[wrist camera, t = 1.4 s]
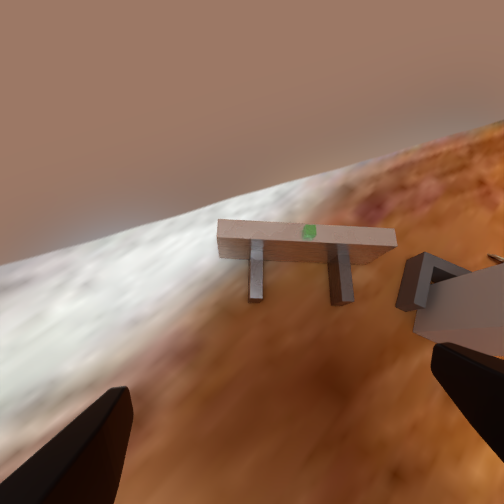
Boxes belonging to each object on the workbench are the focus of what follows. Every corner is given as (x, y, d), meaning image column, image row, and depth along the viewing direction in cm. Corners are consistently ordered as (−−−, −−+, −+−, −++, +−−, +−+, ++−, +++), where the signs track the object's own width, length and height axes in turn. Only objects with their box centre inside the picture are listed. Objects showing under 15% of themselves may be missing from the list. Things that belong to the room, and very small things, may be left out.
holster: (485, 347, 23) (514, 347, 21) (395, 307, 24) (413, 303, 21) (491, 296, 25) (518, 291, 22) (406, 260, 25) (424, 251, 23)
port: (371, 306, 23) (412, 296, 18) (216, 301, 22) (212, 288, 17) (363, 250, 25) (398, 225, 20) (220, 242, 24) (217, 215, 19)
